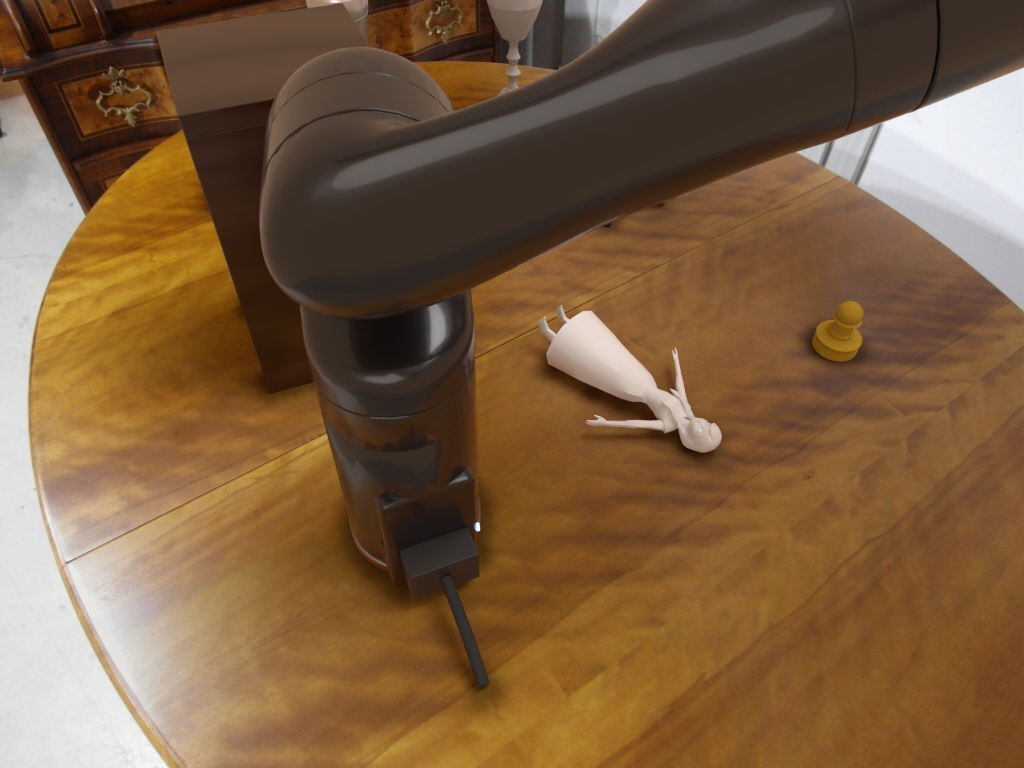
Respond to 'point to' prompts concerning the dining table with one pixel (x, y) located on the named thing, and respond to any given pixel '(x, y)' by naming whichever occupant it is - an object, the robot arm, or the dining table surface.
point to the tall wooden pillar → (248, 149)
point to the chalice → (514, 29)
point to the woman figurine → (624, 378)
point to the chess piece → (840, 333)
